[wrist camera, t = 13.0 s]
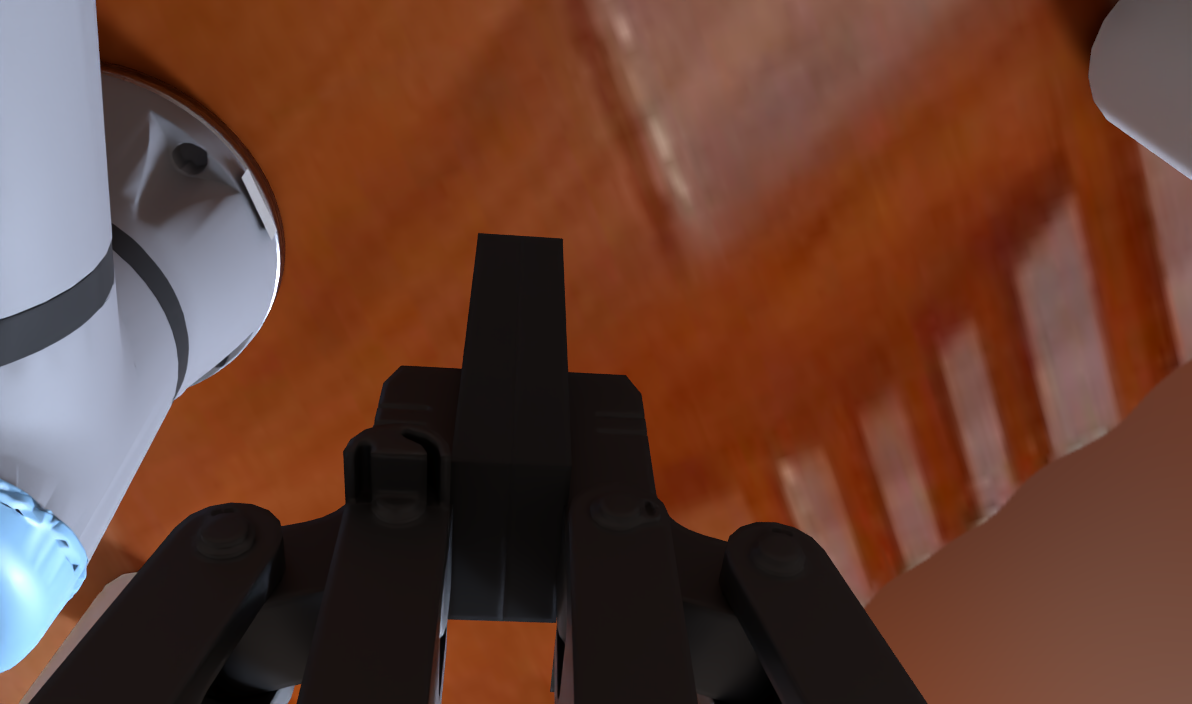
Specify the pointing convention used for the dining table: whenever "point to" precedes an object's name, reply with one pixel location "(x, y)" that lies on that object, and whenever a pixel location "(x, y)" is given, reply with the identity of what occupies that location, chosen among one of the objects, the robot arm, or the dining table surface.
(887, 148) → the dining table surface
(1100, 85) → the can
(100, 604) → the foam cup
